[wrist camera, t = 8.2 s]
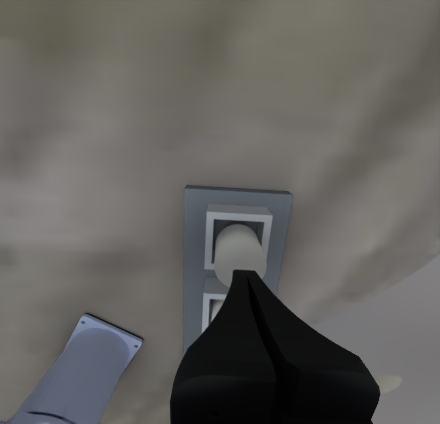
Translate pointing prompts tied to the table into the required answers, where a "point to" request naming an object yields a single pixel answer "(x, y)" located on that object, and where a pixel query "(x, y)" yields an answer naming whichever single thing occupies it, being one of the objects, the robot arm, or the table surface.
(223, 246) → the knob
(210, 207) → the control panel
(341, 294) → the table surface
